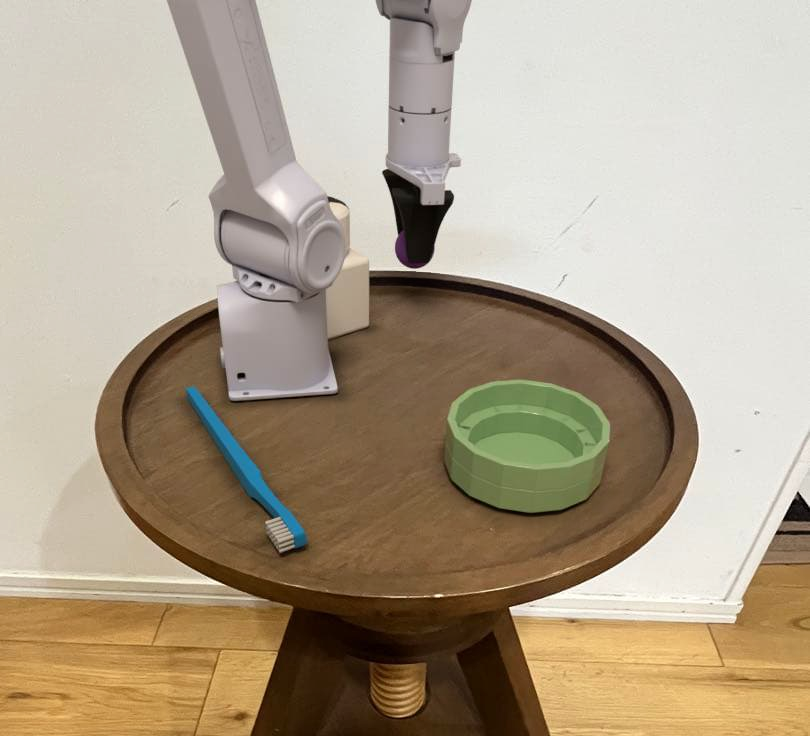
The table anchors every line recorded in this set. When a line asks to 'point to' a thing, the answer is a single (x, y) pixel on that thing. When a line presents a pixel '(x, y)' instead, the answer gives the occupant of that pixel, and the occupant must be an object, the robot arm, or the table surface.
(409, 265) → the ball
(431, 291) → the table surface
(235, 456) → the toothbrush
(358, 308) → the cylinder-topped cream block
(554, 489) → the bowl
